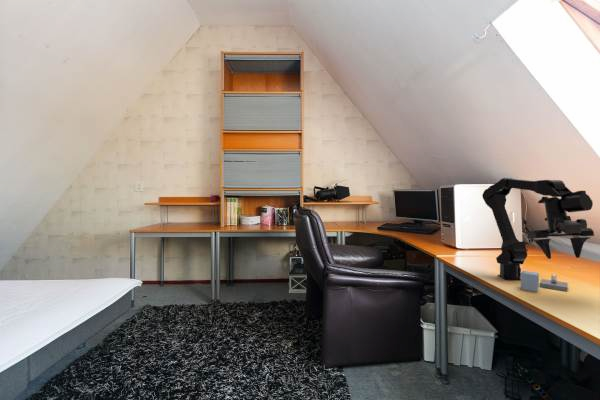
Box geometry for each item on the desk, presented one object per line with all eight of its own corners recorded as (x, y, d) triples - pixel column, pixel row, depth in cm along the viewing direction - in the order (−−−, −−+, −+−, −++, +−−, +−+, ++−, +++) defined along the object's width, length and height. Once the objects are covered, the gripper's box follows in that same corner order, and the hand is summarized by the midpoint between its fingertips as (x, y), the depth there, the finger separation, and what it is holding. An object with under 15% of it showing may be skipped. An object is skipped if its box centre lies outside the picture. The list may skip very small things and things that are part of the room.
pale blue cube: (520, 289, 118) (521, 273, 118) (522, 286, 122) (522, 270, 121) (537, 292, 114) (537, 275, 114) (538, 288, 118) (539, 272, 118)
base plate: (539, 287, 121) (539, 275, 120) (541, 282, 127) (541, 271, 127) (567, 291, 115) (567, 279, 115) (567, 286, 121) (568, 274, 121)
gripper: (542, 213, 108) (550, 260, 105) (603, 210, 106) (612, 257, 103) (523, 216, 119) (530, 259, 116) (578, 213, 117) (585, 257, 114)
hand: (563, 258), depth 112 cm, fingers open, 9 cm apart
